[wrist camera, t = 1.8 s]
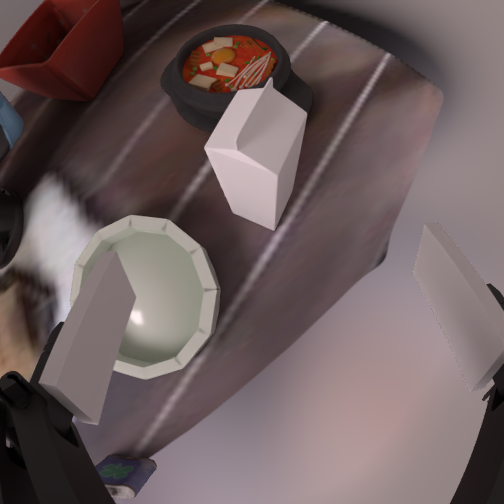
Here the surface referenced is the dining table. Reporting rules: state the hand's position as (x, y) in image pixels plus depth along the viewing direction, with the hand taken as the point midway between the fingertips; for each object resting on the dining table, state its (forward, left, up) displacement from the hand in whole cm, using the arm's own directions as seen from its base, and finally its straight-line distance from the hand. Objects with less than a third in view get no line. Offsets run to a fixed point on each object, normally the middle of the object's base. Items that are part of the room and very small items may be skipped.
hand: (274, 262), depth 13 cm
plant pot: (-49, -18, -27) cm, 59 cm away
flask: (+19, -30, -27) cm, 44 cm away
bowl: (-4, -16, -27) cm, 31 cm away
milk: (-10, +3, -27) cm, 29 cm away
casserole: (-29, +6, -27) cm, 40 cm away
